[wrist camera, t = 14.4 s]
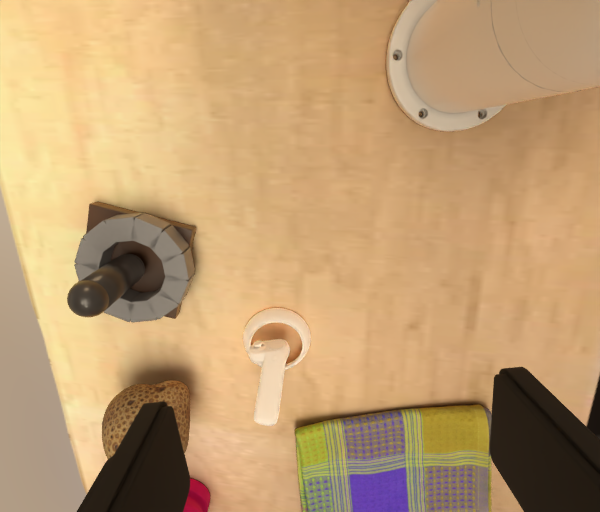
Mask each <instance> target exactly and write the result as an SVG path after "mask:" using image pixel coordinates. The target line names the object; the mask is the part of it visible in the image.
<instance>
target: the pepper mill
mask: <svg viewBox="0 0 600 512" xmlns="http://www.w3.org/2000/svg"><path fill="white" fill-rule="evenodd" d="M209 503H210V493H209V491H208V489H207V488H206V487H205V486H204V485H203V484H202V483H201V482H199V481H197V480H194V479H190V490H189V494H188V497H187V500H186V504H185V507H184V510H183V512H207V511H208V507H209Z"/></svg>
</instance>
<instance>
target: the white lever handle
mask: <svg viewBox="0 0 600 512" xmlns="http://www.w3.org/2000/svg"><path fill="white" fill-rule="evenodd" d="M276 322H278V323H284V324H287V325H289V326H291V327H293V328H294V329H295V330H296V331H297V332H298V333H299V335H300V337H301V340H302V351H301V353H300V355H299V356H298V357H297V358H296V359H295V360H294V361H292V362H290V363H288V364H286V361H287V358H288V356H289V354H290V347H289V345H288V343H287V341H286V340H283V339H274V340H268V341H260V340H259V341H256V342H254V344H253V345H252V346H251V340H252V337H253V335H254V333H255V332H256V331H257V330H258V329H259V328H260V327H262V326H264V325H266V324H269V323H276ZM243 343H244V347H245V349H246V352H247V353H248V355H249V358H250V360H251V361H252V362H253V363H254V364H257V365H258V366H260V367H262V370H261V376H260V382H259V388H258V394H257V399H256V405H255V411H254V420H255V422H257V423H259V424H261V425H266V426H273V425H275V424H276V423H277V420H278V415H279V409H280V401H281V394H282V387H283V379H284V372H285V370H287V369H289V368H292V367H294V366H295V365H297V364H298V363H299V362H300V361H301V360H302V359H303V358H304V357H305V355H306V354H307V352H308V350H309V347H310V343H311V333H310V330H309V327H308V325H307V323H306V322H305V321H304V319H303V318H302V317H301V316H299V315H298V314H297V313H295V312H293V311H291V310H288V309H285V308H270V309H265V310H263V311H261V312H258V313H257V314H256V315H254V316H253V317H252V318H251V319H250V320H249V322H248V323H247V325H246V327H245V329H244V333H243Z"/></svg>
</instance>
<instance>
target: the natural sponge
mask: <svg viewBox="0 0 600 512" xmlns="http://www.w3.org/2000/svg"><path fill="white" fill-rule="evenodd" d="M163 401H164V402H166V404H167V406H172V407H173V409H174V413H175V417H176V421H177V426H178V430H179V434H180V438H181V442H182V446H183V450H184V453H185V451H186V448H187V445H188V440H189V426H190V395H189V391H188V388H187V386H186V385H185V384H183V383H182V382H180V381H174V380H169V381H165V382H161V383H159V384H155V385H147V384H137V385H133V386H130V387H128V388H126V389H124V390H123V391H122V392H120V393H119V394H118V395H116V397H115V398H114V399H113V400H112V401H111V402H110V404H109V405H108V407H107V409H106V412H105V414H104V418H103V422H102V441H103V447H104V450H105V454H106V456H107V458H108V459H109V458H111V457H112V456H113V455H114V454H115V452H116V450H117V448H118V447H119V445H120V443H121V441H122V440H123V438H124V436H125V435H126V433H127V431H128V429H129V428H130V426H131V424H132V422H133V421H134V419H135V417H136V415H137V414H138V412H139V410H140V409H141V407H142V405H143V404H145V403H153V402H163Z"/></svg>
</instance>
